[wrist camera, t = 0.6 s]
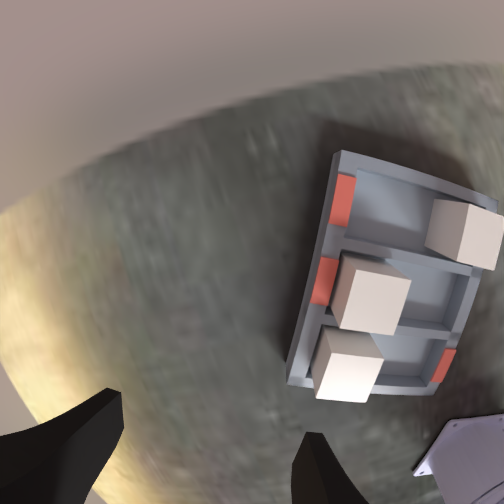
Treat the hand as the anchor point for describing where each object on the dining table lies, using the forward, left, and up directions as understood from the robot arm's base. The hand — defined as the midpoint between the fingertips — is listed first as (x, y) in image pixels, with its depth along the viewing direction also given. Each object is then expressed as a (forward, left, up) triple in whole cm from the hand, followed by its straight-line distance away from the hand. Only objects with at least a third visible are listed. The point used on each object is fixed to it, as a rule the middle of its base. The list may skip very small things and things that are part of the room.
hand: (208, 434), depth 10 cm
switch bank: (-9, -4, -10) cm, 15 cm away
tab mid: (-7, -4, -9) cm, 12 cm away
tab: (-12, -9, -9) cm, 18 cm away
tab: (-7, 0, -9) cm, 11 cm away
